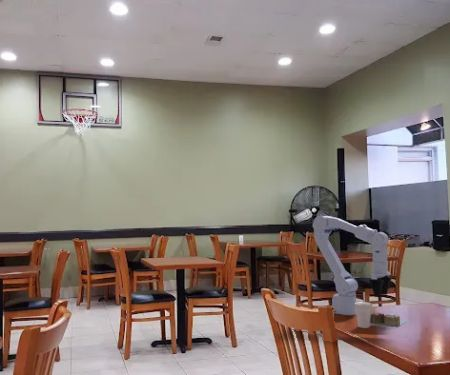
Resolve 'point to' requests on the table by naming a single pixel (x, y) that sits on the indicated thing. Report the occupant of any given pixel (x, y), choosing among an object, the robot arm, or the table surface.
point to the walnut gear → (377, 318)
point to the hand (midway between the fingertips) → (380, 295)
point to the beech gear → (392, 320)
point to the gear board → (388, 325)
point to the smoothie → (363, 313)
